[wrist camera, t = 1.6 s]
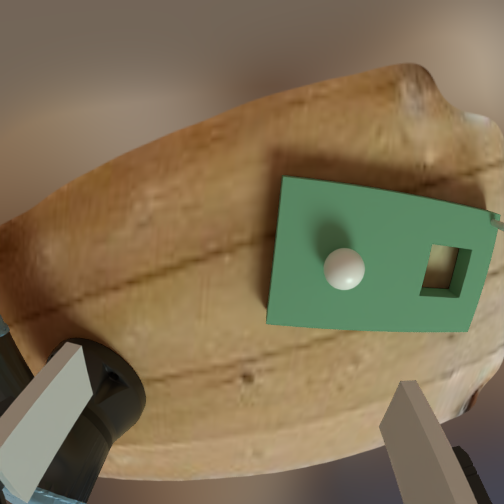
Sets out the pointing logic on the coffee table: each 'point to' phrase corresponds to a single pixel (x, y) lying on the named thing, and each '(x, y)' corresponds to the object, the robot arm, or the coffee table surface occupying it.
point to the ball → (344, 269)
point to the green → (375, 258)
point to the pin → (497, 224)
